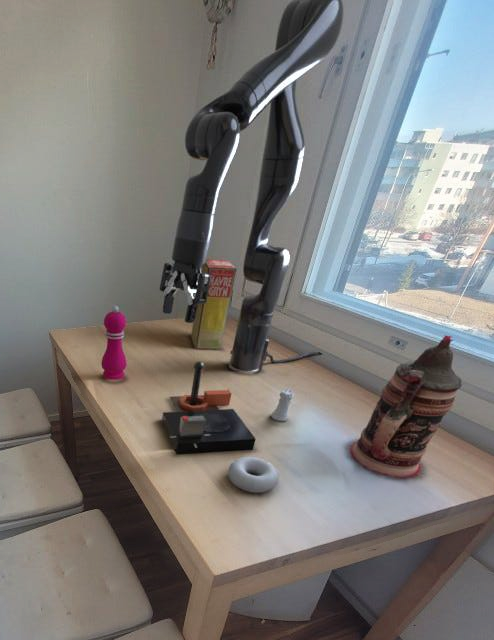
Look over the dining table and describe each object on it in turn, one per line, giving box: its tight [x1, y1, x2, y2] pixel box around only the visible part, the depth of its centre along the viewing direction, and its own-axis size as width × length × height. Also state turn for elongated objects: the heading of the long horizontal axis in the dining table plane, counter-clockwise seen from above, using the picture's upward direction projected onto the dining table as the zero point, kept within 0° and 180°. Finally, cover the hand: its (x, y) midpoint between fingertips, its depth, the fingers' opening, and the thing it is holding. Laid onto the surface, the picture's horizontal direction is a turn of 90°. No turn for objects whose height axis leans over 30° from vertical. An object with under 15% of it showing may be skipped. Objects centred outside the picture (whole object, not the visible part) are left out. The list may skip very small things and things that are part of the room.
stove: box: [161, 408, 257, 456], centre depth 96 cm, size 19×16×3 cm
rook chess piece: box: [270, 389, 295, 422], centre depth 102 cm, size 4×4×8 cm
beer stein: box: [349, 335, 463, 480], centre depth 85 cm, size 17×28×18 cm
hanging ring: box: [179, 389, 232, 411], centre depth 107 cm, size 13×7×3 cm, turn 99°
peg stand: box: [169, 360, 220, 412], centre depth 105 cm, size 11×10×12 cm
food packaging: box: [190, 258, 237, 350], centre depth 138 cm, size 13×9×25 cm
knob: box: [178, 416, 205, 439], centre depth 90 cm, size 5×2×5 cm, turn 99°
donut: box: [227, 456, 280, 494], centre depth 84 cm, size 10×3×10 cm
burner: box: [194, 413, 230, 433], centre depth 97 cm, size 9×9×1 cm
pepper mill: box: [100, 305, 128, 381], centre depth 115 cm, size 7×7×20 cm
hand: (177, 317), depth 98 cm, fingers open, 8 cm apart
